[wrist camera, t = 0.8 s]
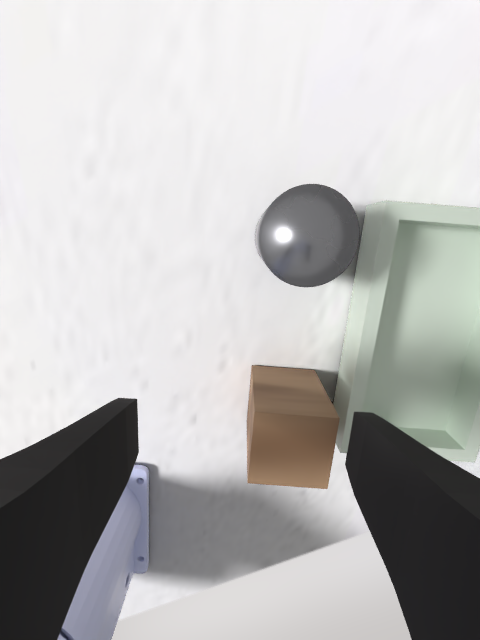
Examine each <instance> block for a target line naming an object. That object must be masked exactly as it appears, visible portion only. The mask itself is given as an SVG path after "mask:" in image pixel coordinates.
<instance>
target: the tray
mask: <svg viewBox="0 0 480 640" xmlns="http://www.w3.org/2000/svg"><path fill="white" fill-rule="evenodd" d="M333 406H334V408H335V410H336V412H337V414H338V416H339V418H340V420H339V426H338V431H337V437H336V444H337V446H338V449H339V451H340V453H347V451H348V445H349V439H350V433H351V427H352V421H353V415H354V412H372V413H374V414H376V415H378V416H380V417H382V418H383V419H385V420H386V421H388V422H389V423H391V424H393V425H394V426H396V427H397V428H399V429H400V430H402V431H403V432H405V433H406V434H408V435H409V436H411V437H412V438H414V439H415V440H417V441H418V442H420V443H421V444H423V445H424V446H426V447H428V448H429V449H431V450H432V451H434V452H435V453H437V454H439V455H440V456H442V457H443V458H445V459H447V460H448V461H461V462H475V461H476V458H477V455H478V451H479V448H480V208H476V207H463V206H450V205H437V204H424V203H412V202H399V201H382V202H378V203H374V204H370V205H367V206H366V212H365V218H364V224H363V230H362V236H361V242H360V248H359V254H358V260H357V266H356V272H355V277H354V283H353V289H352V295H351V301H350V307H349V313H348V319H347V325H346V331H345V337H344V343H343V349H342V355H341V361H340V367H339V373H338V379H337V384H336V390H335V396H334V402H333Z"/></svg>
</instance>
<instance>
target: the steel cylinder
mask: <svg viewBox="0 0 480 640" xmlns="http://www.w3.org/2000/svg"><path fill="white" fill-rule="evenodd" d="M358 243H359V223H358V219H357V215H356V213H355V211H354V209H353V207H352V205H351V204H350V202H349V201H348V200H347V199H346V198H345V197H344V196H343V195H342V194H341V193H339V192H338V191H336V190H334V189H332V188H330V187H327V186H324V185H319V184H305V185H300V186H296V187H294V188H291V189H289V190H287V191H286V192H284V193H283V194H281V195H280V196H279V197H278V198H277V199H276V200H275V201H274V202H273V203H272V204H271V205H270V206H269V207H268V209H267V210H266V211H265V212H264V213H263V215H262V216H261V218H260V219H259V221H258V224H257V227H256V231H255V244H256V248H257V251H258V253H259V255H260V257H261V258H262V260H263V261H264V262H265V264H266V265H267V266H268V268H269V269H270V270H271V272H272V273H273V274H274V275H275V276H277V277H278V278H279V279H281V280H282V281H284V282H286V283H288V284H291V285H294V286H299V287H315V286H319V285H323V284H325V283H328V282H330V281H331V280H333V279H335V278H336V277H338V276H339V275H340V274H341V273H342V272H343V271H344V270H345V269H346V268H347V267H348V265H349V264H350V262H351V261H352V259H353V257H354V255H355V253H356V250H357V247H358Z"/></svg>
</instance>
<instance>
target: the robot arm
mask: <svg viewBox="0 0 480 640" xmlns="http://www.w3.org/2000/svg"><path fill="white" fill-rule="evenodd" d="M138 453H139V449H138V414H137V399H128V398H118V399H115V400H113V401H111V402H110V403H108V404H106V405H104V406H102V407H101V408H99V409H97V410H96V411H94V412H92V413H90V414H89V415H87V416H85V417H83V418H82V419H80V420H78V421H76V422H75V423H73V424H71V425H69V426H68V427H66V428H64V429H62V430H60V431H58V432H56V433H54V434H52V435H51V436H49V437H47V438H45V439H43V440H41V441H39V442H37V443H35V444H33V445H31V446H29V447H27V448H25V449H23V450H21V451H18V452H16V453H14V454H12V455H9V456H7V457H5V458H2V459H0V640H111V639H112V636H113V633H114V630H115V627H116V624H117V621H118V618H119V615H120V612H121V609H122V606H123V603H124V600H125V596H126V593H127V590H128V587H129V584H130V581H131V578H132V575H133V573H145V572H146V571H147V569H148V566H149V470H148V468H147V467H145V466H143V465H134V464H135V462H136V459H137V456H138ZM345 465H346V469H347V472H348V476H349V479H350V483H351V486H352V489H353V492H354V495H355V498H356V500H357V502H358V505H359V507H360V509H361V512H362V514H363V516H364V519H365V521H366V523H367V525H368V528H369V530H370V532H371V534H372V537H373V539H374V541H375V543H376V545H377V548H378V550H379V552H380V555H381V557H382V559H383V561H384V564H385V566H386V568H387V571H388V573H389V576H390V578H391V581H392V583H393V585H394V588H395V591H396V594H397V597H398V600H399V603H400V606H401V609H402V611H403V615H404V617H405V620H406V623H407V626H408V629H409V632H410V635H411V638H412V640H480V478H478V477H476V476H474V475H472V474H471V473H469V472H467V471H465V470H464V469H462V468H460V467H459V466H457V465H455V464H454V463H452V462H450V461H448V460H447V459H445V458H443V457H442V456H440V455H439V454H437V453H435V452H434V451H432V450H431V449H429V448H428V447H426V446H424V445H423V444H421V443H420V442H418V441H417V440H415V439H414V438H412V437H411V436H409V435H408V434H406V433H405V432H403V431H402V430H400V429H399V428H397V427H396V426H394V425H393V424H391V423H389V422H388V421H386V420H385V419H383V418H382V417H380V416H378V415H376V414H374V413H372V412H354V415H353V421H352V427H351V433H350V439H349V445H348V451H347V457H346V463H345ZM139 478H142V479H143V480H141V479H139Z"/></svg>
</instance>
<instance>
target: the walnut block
mask: <svg viewBox="0 0 480 640" xmlns="http://www.w3.org/2000/svg"><path fill="white" fill-rule="evenodd" d="M339 420H340V418H339V416H338V414H337V412H336V410H335V408H334V406H333V404H332V402H331V400H330V398H329V397H328V395H327V393H326V391H325V389H324V387H323V385H322V383H321V381H320V379H319V377H318V375H317V374H316V372H315V370H308V369H294V368H281V367H268V366H254V365H252V369H251V380H250V391H249V402H248V413H247V478H248V483H252V484H266V485H280V486H293V487H307V488H321V489H327V488H328V483H329V477H330V471H331V466H332V460H333V454H334V449H335V443H336V437H337V431H338V426H339Z"/></svg>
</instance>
